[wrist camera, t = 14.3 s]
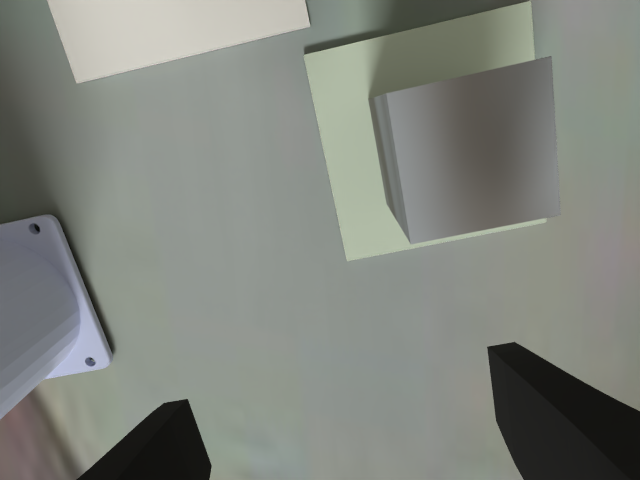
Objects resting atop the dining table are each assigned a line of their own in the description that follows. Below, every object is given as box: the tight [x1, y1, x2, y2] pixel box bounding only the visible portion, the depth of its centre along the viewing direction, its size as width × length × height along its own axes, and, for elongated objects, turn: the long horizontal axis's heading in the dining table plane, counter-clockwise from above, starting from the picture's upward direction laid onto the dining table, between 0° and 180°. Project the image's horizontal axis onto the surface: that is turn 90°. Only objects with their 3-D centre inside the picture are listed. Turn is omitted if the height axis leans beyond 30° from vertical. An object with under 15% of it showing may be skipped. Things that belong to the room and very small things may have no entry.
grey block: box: [368, 56, 561, 244], centre depth 15 cm, size 4×4×6 cm
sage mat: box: [304, 1, 546, 261], centre depth 18 cm, size 9×9×1 cm
